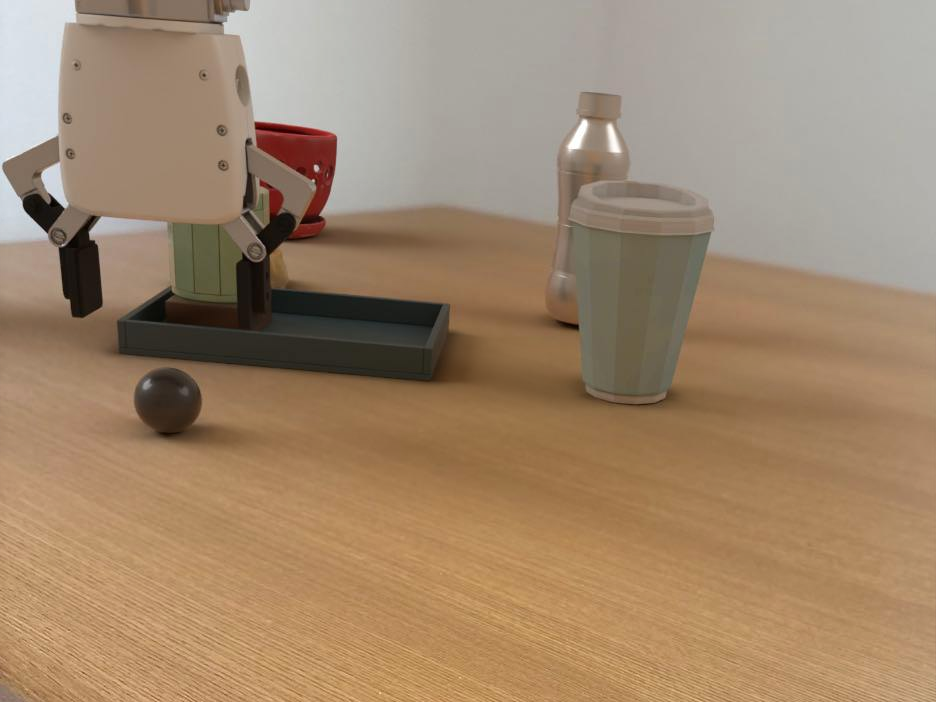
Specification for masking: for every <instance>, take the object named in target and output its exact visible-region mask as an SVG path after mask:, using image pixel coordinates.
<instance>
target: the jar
mask: <svg viewBox="0 0 936 702" xmlns="http://www.w3.org/2000/svg"><path fill="white" fill-rule="evenodd" d="M253 212H254V213H255V214H256V215H257V217H258V218H259V219H260V220H261V222H262V223H263V224H264V225H265V227H266V226H267V225H268V224H269V223H270V220H269V190H268V189H266V188H264V187H261V186H259V201H258V205H257V207H256V208H255V209H254V210H253ZM166 224H167V225H166V226H167V247H168V248H167V249H168V264H169V265H168V266H169V268H168V270H169V283H170V285H172V292H173V293H174V294H175V295H177V296H180V297H183V298H186V299H191V300H196V301H203V302H215V303H237V284H236V264H237V262H238V261H240V260H241V259H242V250H241V249H240V248H239V247H238V246H237V244H236V243H235V242H234V241H233V239H232V238H231V237H230V236H229V235H228V233H227V232H226V231H225V230H224V228H223V227H222V226H221V225H220V224H217V225H206V224H190V223H176V222H166Z"/></svg>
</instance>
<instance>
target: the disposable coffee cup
mask: <svg viewBox="0 0 936 702" xmlns="http://www.w3.org/2000/svg"><path fill="white" fill-rule="evenodd" d="M709 207H710V205H709V200H708V198H707V197H705V196H702V195H701V194H698V193H696V192H695V191H692V190H690V189H687V188H682V187H678V186H674V185H671V184H666V183H662V182H649V181H636V180H627V181H597V182H594V183H590V184H586V185H583V186H581V188H580V191H579V194H578V199H575V200H574V201H573V203H572V205H571V209H570V216H569V218H568V220H571V221H572V225H573V241H574V256H575V271H576V286H577V302H578V317H579V326H578V330H579V331H578V332H579V344H580V346H579V347H580V362H581V374H582V377H581V378H582V382H583V383H584V384H585V392H586V393H587V394H590V395H591V396H592V397H594V398H596V399H599V400H603V401H607V402H610V403H615V404H627V405H644V404H655V403H657V402H659V401H661V400H662V401H663V400H664V399H666V396H667V393H668V391H669V390H671V389H672V384H673V380H674V376H675V372H676V369H677V366H678V365H677V364H678V361H679V358H680V354H681V350H682V346H683V342H684V339H685V335H686V330H687V327H688V322H689V319H690V316H691V312H692V308H693V304H694V300H695V296H696V293H697V290H698V289H697V288H698V285H699V281H700V277H701V274H702V269H703V265H704V262H705V259H706V254H707V250H708V246H709V244H710V243H709V242H710V239H711V235H712V232H715V230H716V229H715V216H714V212H713V210H712V209H711V208H709Z"/></svg>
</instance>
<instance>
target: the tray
mask: <svg viewBox="0 0 936 702" xmlns="http://www.w3.org/2000/svg"><path fill="white" fill-rule="evenodd" d="M174 295H175V294H174V293H173V292H172V284H170V285H169V286H167V287H166V288H164V289H162V290H161V291H159V292H158V293H157V294H155V295H154V296H152V297H150V298H149V299H148V300H146V301H145V302H143V303H141V304H140V305H138V306H137V307H135V308H134V309H132V310H131V311H130V312H128V313H126V314H125V315H123V316H122V317H120V318H119V319H117V320H116V328H117V329H116V330H117V341H118V342H117V345H118V354H120V355H121V354H122V355H131V356H143V357H154V358H166V359H176V360H186V361H189V360H190V361H199V362H210V363H220V364H231V365H232V364H233V365H242V366H255V367H266V368H277V369H287V370H299V371H309V372H311V371H312V372H322V373H332V374H333V373H334V374H342V375H343V374H344V375H353V376H367V377H376V378H377V377H378V378H387V379H400V380H410V381H421V382H422V381H423V382H431V381H432V379H433V376H434V373H435V370H436V367H437V364H438V362H439V359H440V356H441V353H442V351H443V348H444V346H445V344H446V340H447V337H448V335H449V332H450V314H451V313H450V312H451V304H450V303H447V302H444V303H443V302H438V301H437V302H436V301H425V300H424V301H423V300H415V299H404V298H394V297H393V298H391V297H380V296H371V295H359V294H349V293H338V292H337V293H336V292H328V291H327V292H325V291H314V290H303V289H292V288H285V289H283V288H272V320H271V321H270V322H269V323H268V324H267V325H266V326H265V327H264V328H263V329H262V330H261V331H248V330H237V329H226V328H215V327H204V326H193V325H182V324H171V323H166V305H165V302H166V301H167V300H168V299H169V298H171V297H172V296H174Z"/></svg>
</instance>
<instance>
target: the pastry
mask: <svg viewBox="0 0 936 702" xmlns="http://www.w3.org/2000/svg"><path fill="white" fill-rule="evenodd" d="M288 283H289V273H288V268H287V264H286V262H285V260H284V257H283V252H282V250H281V249H280V246H279V247H278V248H277V249H276V250H275V251H274V252H273V253H271V254H270V284H271V285H272V288H283V289H286V286H287V285H288Z"/></svg>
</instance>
